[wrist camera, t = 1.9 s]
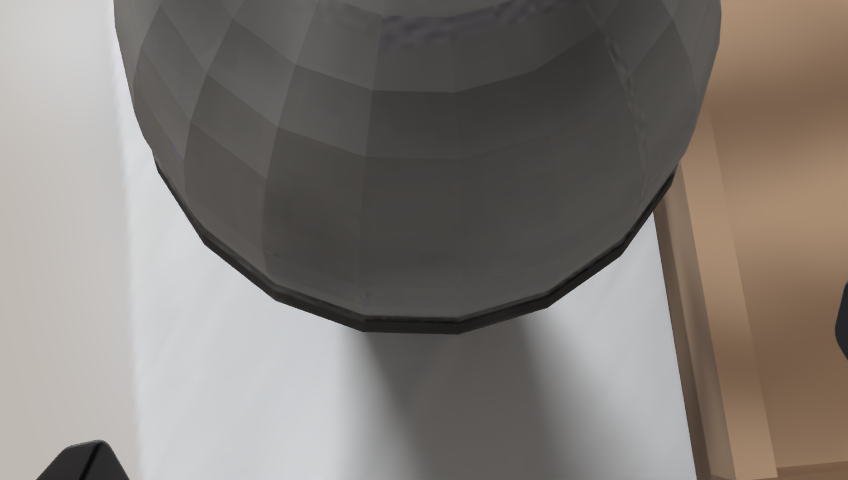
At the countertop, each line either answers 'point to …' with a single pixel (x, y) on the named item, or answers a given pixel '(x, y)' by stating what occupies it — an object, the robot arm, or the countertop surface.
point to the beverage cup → (418, 142)
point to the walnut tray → (764, 247)
